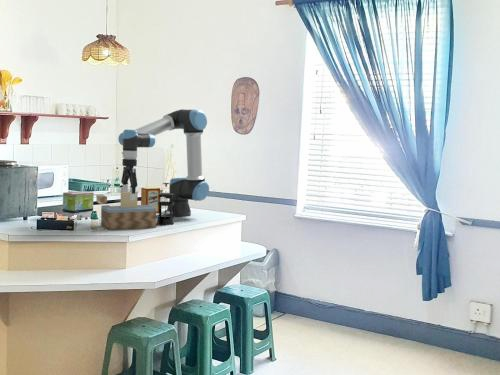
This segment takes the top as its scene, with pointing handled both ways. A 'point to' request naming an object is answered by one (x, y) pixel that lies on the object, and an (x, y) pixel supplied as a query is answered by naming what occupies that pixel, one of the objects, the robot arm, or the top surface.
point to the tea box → (78, 204)
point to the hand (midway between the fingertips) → (128, 198)
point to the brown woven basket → (128, 220)
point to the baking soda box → (150, 197)
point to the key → (101, 199)
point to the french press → (172, 209)
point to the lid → (127, 205)
